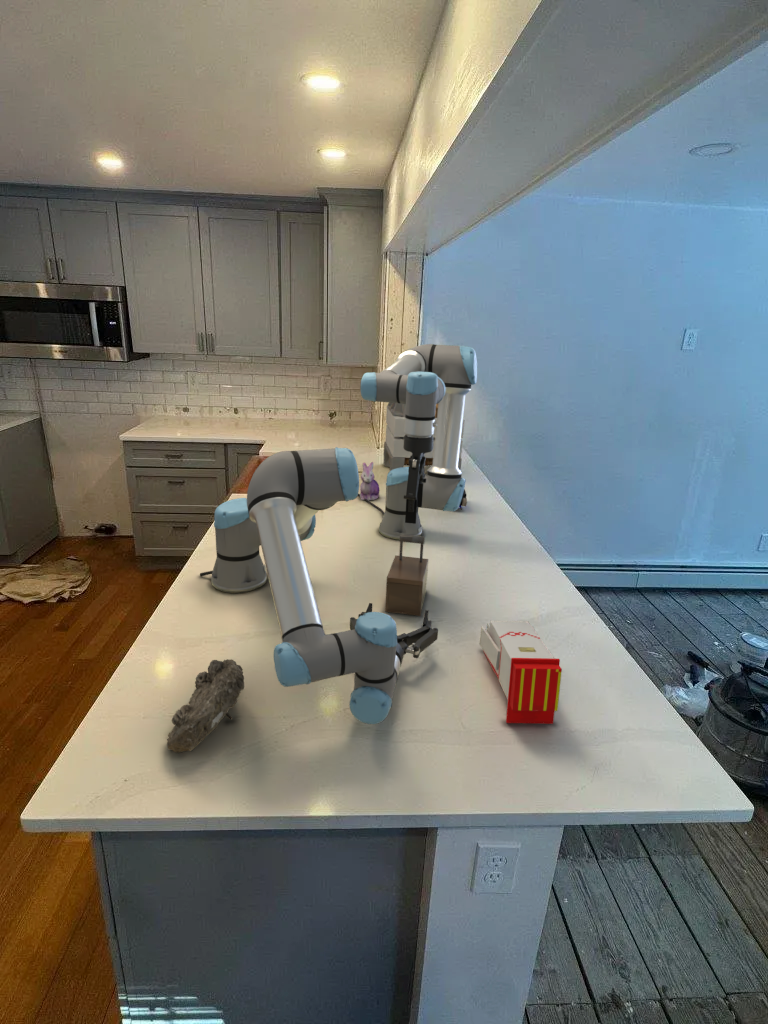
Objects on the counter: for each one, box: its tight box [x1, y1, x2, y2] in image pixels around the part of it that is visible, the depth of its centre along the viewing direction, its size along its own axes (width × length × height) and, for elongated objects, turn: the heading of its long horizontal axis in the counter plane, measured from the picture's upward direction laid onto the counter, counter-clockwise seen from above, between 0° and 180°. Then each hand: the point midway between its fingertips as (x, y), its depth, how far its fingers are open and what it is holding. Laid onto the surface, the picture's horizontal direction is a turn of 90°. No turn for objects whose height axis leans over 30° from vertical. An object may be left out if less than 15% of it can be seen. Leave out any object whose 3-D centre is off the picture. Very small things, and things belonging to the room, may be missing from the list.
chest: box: [384, 565, 429, 617], centre depth 153 cm, size 14×9×9 cm
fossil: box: [166, 658, 245, 754], centre depth 106 cm, size 22×10×15 cm
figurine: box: [359, 461, 381, 501], centre depth 233 cm, size 9×10×15 cm
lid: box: [386, 534, 429, 586], centre depth 150 cm, size 14×9×9 cm, turn 170°
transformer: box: [383, 402, 465, 472], centre depth 268 cm, size 34×33×41 cm
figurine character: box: [459, 488, 468, 511], centre depth 230 cm, size 7×8×15 cm
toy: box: [478, 620, 563, 725], centre depth 121 cm, size 12×13×30 cm
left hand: (398, 611), depth 136 cm, fingers open, 13 cm apart
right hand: (413, 514), depth 150 cm, fingers open, 13 cm apart
